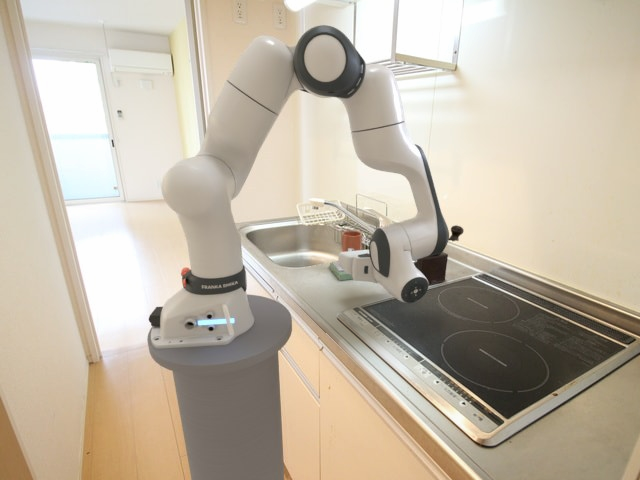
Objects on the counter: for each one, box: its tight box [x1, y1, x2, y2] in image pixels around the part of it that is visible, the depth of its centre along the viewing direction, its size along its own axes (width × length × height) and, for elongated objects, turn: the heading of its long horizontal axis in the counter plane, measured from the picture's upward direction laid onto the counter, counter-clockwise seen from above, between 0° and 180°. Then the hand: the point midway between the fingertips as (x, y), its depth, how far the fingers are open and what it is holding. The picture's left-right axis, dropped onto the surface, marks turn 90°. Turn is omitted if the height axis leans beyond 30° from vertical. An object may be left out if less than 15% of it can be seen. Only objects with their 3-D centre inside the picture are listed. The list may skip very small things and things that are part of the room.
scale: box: [329, 260, 354, 281], centre depth 121 cm, size 11×11×3 cm
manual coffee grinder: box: [414, 224, 464, 286], centre depth 116 cm, size 16×11×18 cm
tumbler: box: [340, 230, 363, 252], centre depth 119 cm, size 6×6×11 cm
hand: (365, 249), depth 106 cm, fingers open, 8 cm apart
